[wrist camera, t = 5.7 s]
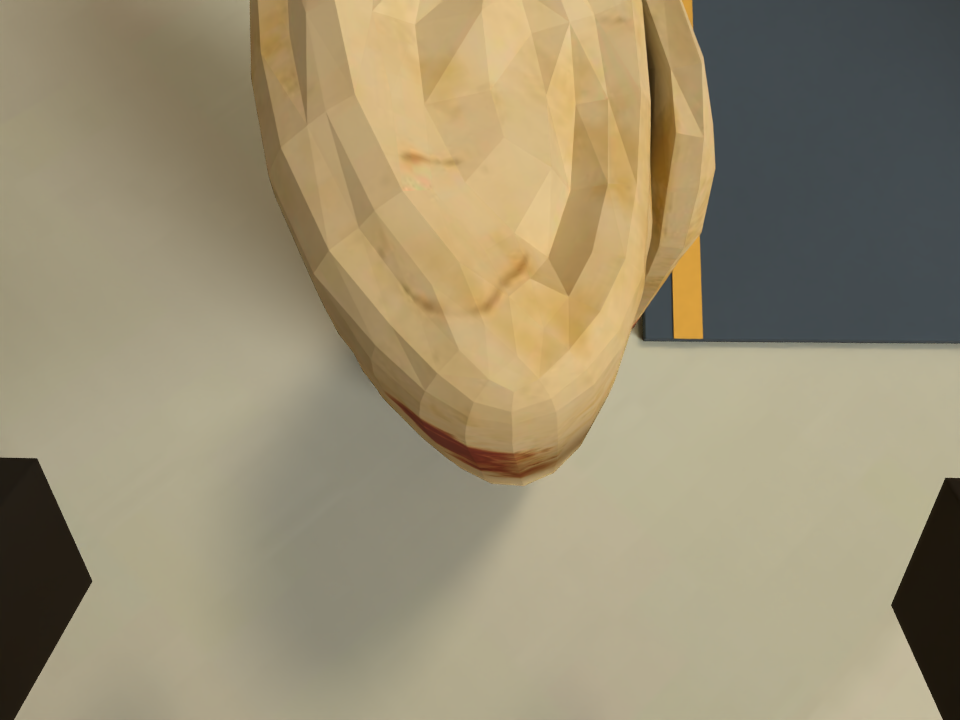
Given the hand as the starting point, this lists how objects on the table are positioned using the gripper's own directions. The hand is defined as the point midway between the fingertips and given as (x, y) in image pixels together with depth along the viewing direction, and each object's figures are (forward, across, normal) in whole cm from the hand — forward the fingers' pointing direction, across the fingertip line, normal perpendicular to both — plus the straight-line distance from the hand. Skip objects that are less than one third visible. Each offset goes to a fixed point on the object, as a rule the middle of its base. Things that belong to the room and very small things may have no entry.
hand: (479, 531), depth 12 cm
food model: (+15, 0, -7) cm, 17 cm away
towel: (+20, +14, -2) cm, 25 cm away
